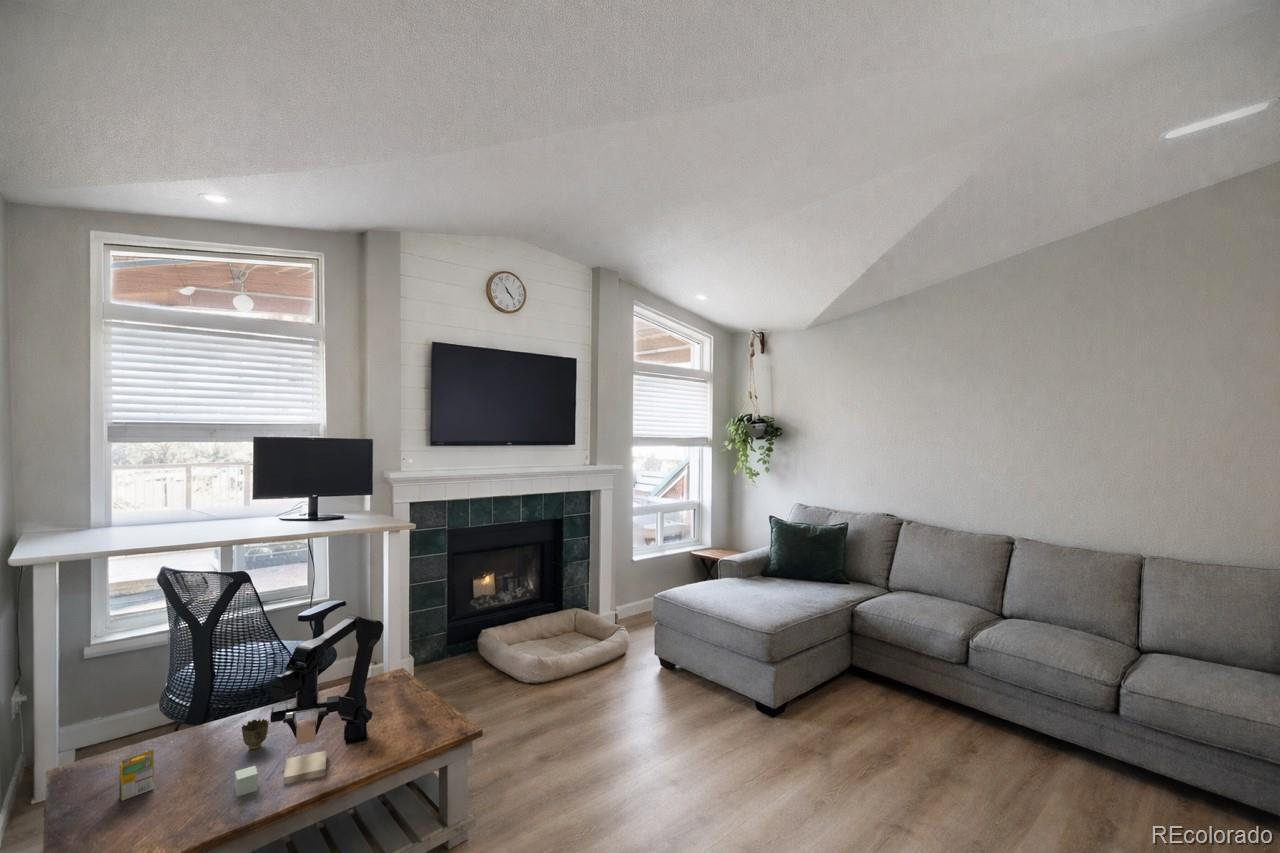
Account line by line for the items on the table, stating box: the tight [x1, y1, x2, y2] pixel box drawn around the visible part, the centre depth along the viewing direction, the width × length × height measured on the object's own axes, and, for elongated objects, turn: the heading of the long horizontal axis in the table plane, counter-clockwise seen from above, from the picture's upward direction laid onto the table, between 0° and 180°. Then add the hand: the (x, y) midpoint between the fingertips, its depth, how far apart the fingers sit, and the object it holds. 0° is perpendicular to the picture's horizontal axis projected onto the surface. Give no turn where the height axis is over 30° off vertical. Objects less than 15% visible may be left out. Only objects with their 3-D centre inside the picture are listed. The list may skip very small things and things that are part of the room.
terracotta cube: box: [295, 717, 317, 746], centre depth 185 cm, size 5×5×5 cm
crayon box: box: [118, 749, 155, 802], centre depth 172 cm, size 7×3×12 cm, turn 141°
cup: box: [241, 718, 269, 751], centre depth 196 cm, size 8×7×8 cm
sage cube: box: [234, 765, 259, 797], centre depth 175 cm, size 5×5×5 cm
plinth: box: [283, 750, 328, 785], centre depth 185 cm, size 11×11×2 cm
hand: (306, 735), depth 185 cm, fingers closed on terracotta cube, 5 cm apart
